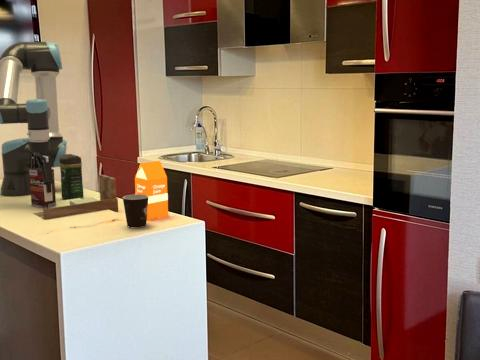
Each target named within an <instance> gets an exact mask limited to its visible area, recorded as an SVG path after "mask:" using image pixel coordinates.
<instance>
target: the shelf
mask: <svg viewBox="0 0 480 360" xmlns="http://www.w3.org/2000/svg"><path fill="white" fill-rule="evenodd" d="M116 180H117V179H116V178H115V177H113V176H108V175H106V174H99V175H98V182H99V200H100V201H94V202H87V203H81V204H74V205H70V204H69V205H63V206H62V205H61V206H57V207H56V206H54V207H51V208H42V211H39V212H33V213H32V214H33V215H35V216H37V217H38V218H40V219H42V220H46V221H47V220H52V219H58V218H65V217H70V216H75V215H82V214H88V213H95V212H101V211H106V210H108V211H111V212H115V213H119V199H118V198H117V183H116Z"/></svg>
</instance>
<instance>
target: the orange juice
mask: <svg viewBox="0 0 480 360" xmlns="http://www.w3.org/2000/svg"><path fill="white" fill-rule="evenodd" d="M134 189H135V190H134V191H135V193H134V194H143V195H148V209H147V219H148V220H147V221H151V220H150V219H153V220H155V219H154V218H157V219H160V218H159V217H162V218H165V216H166V217H169V194H168V176H167V173H166V171H165V169H164V166H163V165H162V162H161V160H155V161H154V160H153V161H146V162H140V163H139V167H138V169H137V172H136V173H135V177H134Z"/></svg>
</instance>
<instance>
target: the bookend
mask: <svg viewBox="0 0 480 360" xmlns="http://www.w3.org/2000/svg"><path fill="white" fill-rule="evenodd" d="M94 201H100V199H97V198H94V197H89V198H82V199H81V198H79V199H74V200H73V199H72V200H69V205H74V204H81V203H87V202H94Z"/></svg>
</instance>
